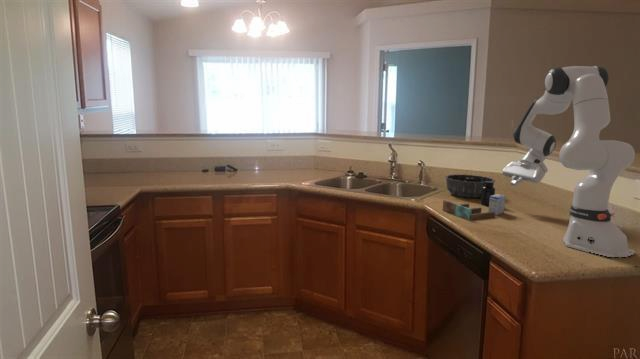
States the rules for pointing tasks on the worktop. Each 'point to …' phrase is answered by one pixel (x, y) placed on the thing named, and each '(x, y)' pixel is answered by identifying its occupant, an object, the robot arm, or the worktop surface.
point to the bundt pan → (466, 185)
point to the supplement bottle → (487, 192)
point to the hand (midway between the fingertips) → (513, 184)
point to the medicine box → (497, 204)
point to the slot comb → (465, 211)
